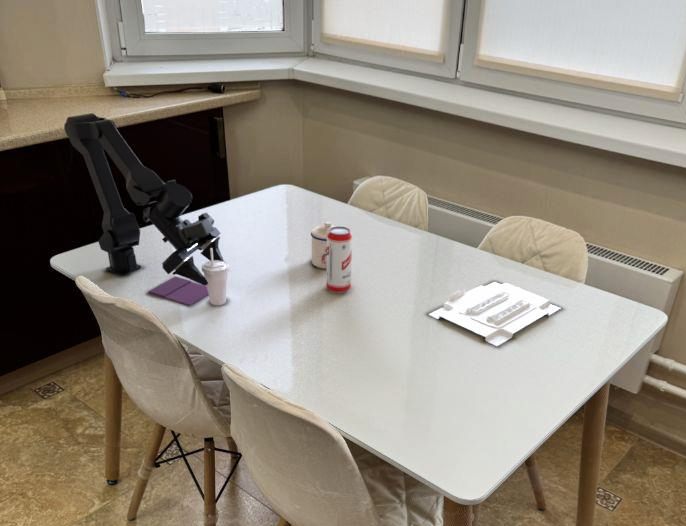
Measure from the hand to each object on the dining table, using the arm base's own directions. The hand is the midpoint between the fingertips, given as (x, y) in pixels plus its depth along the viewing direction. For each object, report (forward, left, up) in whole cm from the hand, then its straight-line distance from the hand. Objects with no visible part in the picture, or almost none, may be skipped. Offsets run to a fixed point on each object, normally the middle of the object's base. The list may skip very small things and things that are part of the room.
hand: (216, 276), depth 166 cm
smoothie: (0, 0, -7) cm, 7 cm away
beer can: (+21, +22, -7) cm, 31 cm away
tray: (+60, +32, -7) cm, 69 cm away
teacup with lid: (+11, +36, -7) cm, 38 cm away
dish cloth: (-11, 0, -7) cm, 13 cm away
